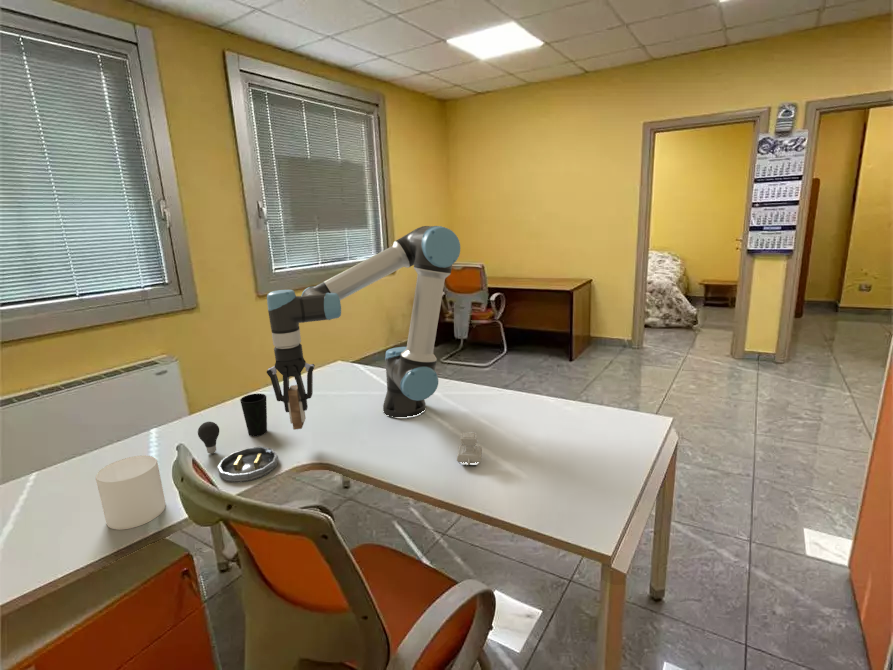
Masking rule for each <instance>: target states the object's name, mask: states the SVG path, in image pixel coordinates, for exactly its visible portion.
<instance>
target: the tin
mask: <svg viewBox="0 0 893 670" xmlns="http://www.w3.org/2000/svg"><path fill="white" fill-rule="evenodd" d="M278 457H279V456H278V454H277V452H276V451H275V450H274V449H273V448H270V447H264V446H255V447H253V446H252V447H246V448H243V449H240V450H237V451H234V452H231V453H230V454H228V455H226V456H224V457H223V458H222V459H221V460H220V461H219V464H218V465H217V472H218V476H219V478H221V480H222V481H225V482H228V483H246V482H251V481H254V480H258V479H260V478H263V477H265V476H266V475H268V474H270V473H271V472H273V471H274V470H275V469H276V467H277V466H278V459H279V458H278Z"/></svg>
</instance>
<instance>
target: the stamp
mask: <svg viewBox="0 0 893 670" xmlns="http://www.w3.org/2000/svg"><path fill="white" fill-rule="evenodd" d="M460 441H461V444H460V445H459V446H458V451H457V455H456V456H457V457H456V461H457V462H458V463H459V462H462V463H463V462H464V463H465V462H467V463H468V465H470V463H475V462H476V463H477V462H479V464H480V463H481V462H482V451H483V447H482V445H477V444H478V438H477V432H461V435H460Z"/></svg>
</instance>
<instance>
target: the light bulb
mask: <svg viewBox="0 0 893 670" xmlns="http://www.w3.org/2000/svg"><path fill="white" fill-rule="evenodd" d="M197 435H198V438H199V439H200V441H202V442H203V444H204V446H205V448H206V452H207V454H210V455H214V453H216V452H217V439H218V437H219V435H220V427H219V426H218V424H217V423H216V422H213V421H206V422H205V421H204V422H203V423H201V424H200V426H199V427H198V430H197Z"/></svg>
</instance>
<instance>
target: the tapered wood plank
mask: <svg viewBox="0 0 893 670" xmlns="http://www.w3.org/2000/svg"><path fill="white" fill-rule="evenodd" d="M288 395H289V402H290V409H291V416H292V429H293V430H301V429H303V426H304V424H305V421H304V422H302V421H301V414H300V407H299V401H300V398H301V397H300V394H299V390H298V386H297V384H294V385H289V390H288Z"/></svg>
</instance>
